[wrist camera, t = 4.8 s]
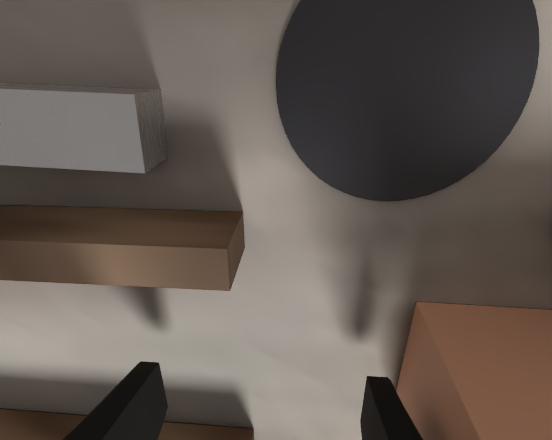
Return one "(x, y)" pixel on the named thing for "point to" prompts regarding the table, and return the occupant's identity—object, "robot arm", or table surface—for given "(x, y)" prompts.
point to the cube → (478, 372)
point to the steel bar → (81, 127)
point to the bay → (118, 275)
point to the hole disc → (403, 89)
